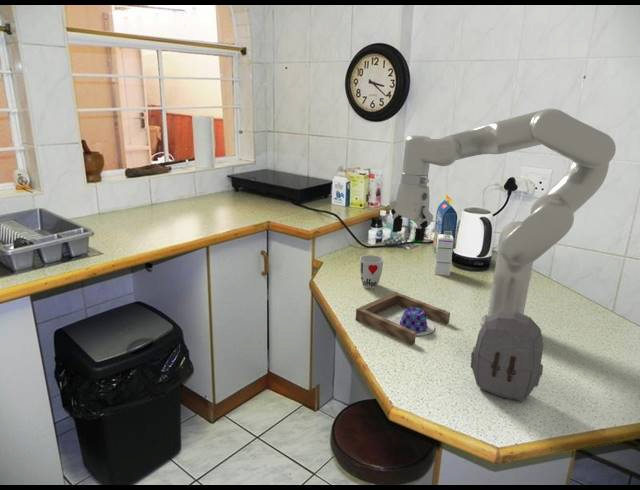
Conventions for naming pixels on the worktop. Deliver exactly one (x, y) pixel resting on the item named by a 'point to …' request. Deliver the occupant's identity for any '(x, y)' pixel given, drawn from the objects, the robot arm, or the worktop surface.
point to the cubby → (370, 318)
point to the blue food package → (445, 221)
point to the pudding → (415, 321)
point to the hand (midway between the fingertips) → (407, 236)
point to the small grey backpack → (508, 355)
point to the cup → (370, 270)
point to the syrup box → (444, 254)
